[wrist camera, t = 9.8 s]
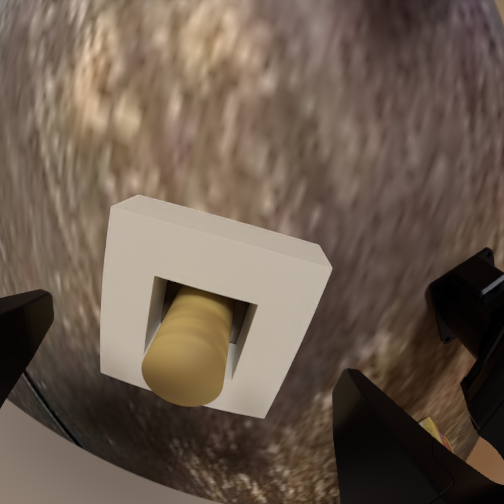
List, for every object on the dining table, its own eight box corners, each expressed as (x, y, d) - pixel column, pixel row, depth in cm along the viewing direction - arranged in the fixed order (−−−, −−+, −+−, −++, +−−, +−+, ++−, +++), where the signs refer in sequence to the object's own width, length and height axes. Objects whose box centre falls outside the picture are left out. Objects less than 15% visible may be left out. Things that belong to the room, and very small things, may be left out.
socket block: (319, 244, 19) (332, 268, 16) (263, 382, 23) (264, 418, 20) (138, 194, 19) (111, 206, 15) (120, 341, 22) (100, 372, 19)
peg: (245, 311, 21) (239, 393, 14) (198, 333, 22) (174, 413, 14) (215, 264, 20) (191, 332, 13) (167, 289, 21) (125, 360, 13)
